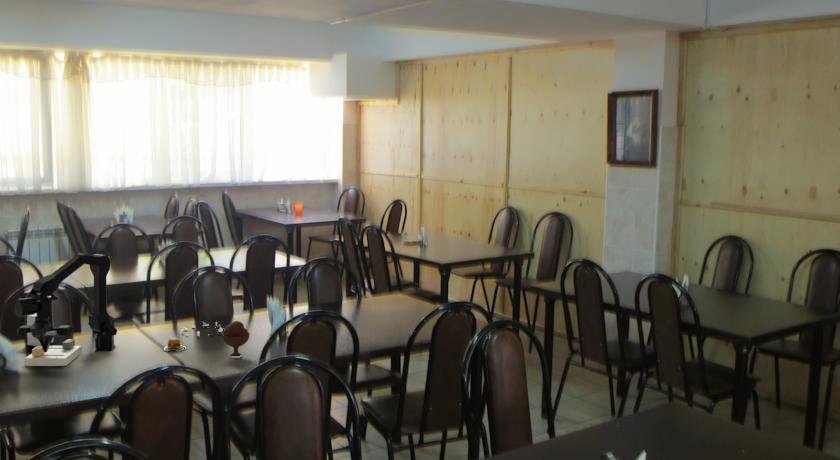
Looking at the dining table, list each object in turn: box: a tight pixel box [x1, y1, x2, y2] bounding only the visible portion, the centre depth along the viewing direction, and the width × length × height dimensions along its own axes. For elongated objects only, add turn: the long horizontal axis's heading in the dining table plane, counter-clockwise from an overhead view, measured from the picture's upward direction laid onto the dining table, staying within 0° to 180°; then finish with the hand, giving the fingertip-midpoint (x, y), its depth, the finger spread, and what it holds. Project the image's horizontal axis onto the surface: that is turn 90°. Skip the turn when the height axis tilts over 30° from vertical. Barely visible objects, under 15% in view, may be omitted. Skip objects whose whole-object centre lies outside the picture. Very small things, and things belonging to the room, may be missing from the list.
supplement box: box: [26, 313, 54, 347], centre depth 331 cm, size 7×7×13 cm
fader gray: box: [61, 338, 76, 349], centre depth 315 cm, size 3×5×3 cm, turn 4°
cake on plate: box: [163, 337, 187, 352], centre depth 328 cm, size 12×12×6 cm
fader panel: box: [24, 345, 83, 367], centre depth 310 cm, size 15×18×3 cm
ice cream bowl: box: [221, 320, 250, 356], centre depth 319 cm, size 11×11×15 cm
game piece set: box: [180, 321, 224, 337], centre depth 357 cm, size 19×20×4 cm
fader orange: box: [31, 346, 46, 356], centre depth 305 cm, size 3×5×3 cm, turn 4°
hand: (45, 351), depth 305 cm, fingers closed
